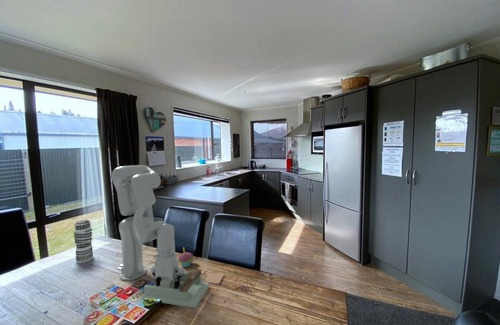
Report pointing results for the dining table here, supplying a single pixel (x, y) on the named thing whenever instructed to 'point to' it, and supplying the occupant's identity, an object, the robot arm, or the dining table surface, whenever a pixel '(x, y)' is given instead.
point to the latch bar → (190, 279)
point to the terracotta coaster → (214, 278)
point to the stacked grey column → (83, 241)
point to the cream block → (167, 283)
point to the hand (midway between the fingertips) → (167, 286)
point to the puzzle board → (178, 293)
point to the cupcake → (185, 258)
